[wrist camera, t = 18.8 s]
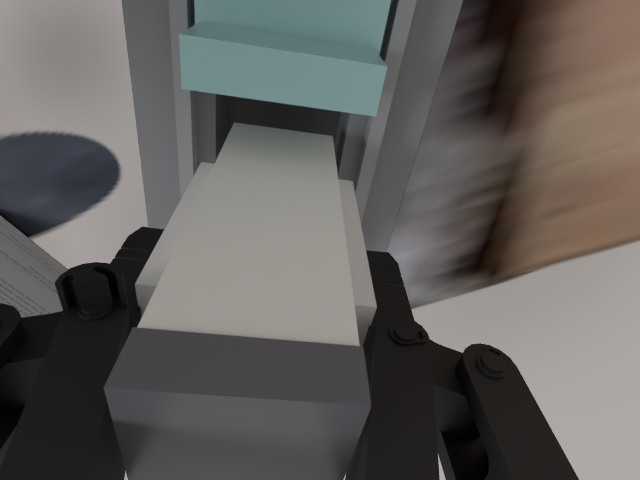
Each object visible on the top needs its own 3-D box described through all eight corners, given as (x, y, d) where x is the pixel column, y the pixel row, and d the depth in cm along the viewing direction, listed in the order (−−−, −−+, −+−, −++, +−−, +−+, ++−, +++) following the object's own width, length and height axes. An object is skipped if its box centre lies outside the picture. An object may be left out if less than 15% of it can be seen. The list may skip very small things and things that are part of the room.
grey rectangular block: (230, 208, 18) (135, 506, 8) (232, 121, 16) (103, 387, 6) (319, 219, 19) (330, 514, 9) (334, 134, 16) (372, 406, 6)
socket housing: (172, 200, 23) (144, 249, 19) (129, -380, 12) (41, -548, 8) (372, 223, 24) (384, 273, 21) (507, -282, 13) (592, -385, 9)
